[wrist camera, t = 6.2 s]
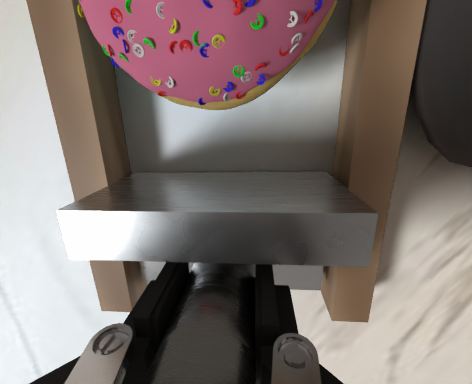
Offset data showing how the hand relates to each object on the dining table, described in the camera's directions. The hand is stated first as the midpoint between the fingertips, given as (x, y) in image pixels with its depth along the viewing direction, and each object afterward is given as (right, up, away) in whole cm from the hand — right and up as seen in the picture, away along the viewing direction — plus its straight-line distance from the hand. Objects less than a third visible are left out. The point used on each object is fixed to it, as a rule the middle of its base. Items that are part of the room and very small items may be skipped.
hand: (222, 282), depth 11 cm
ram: (0, +2, +3) cm, 4 cm away
